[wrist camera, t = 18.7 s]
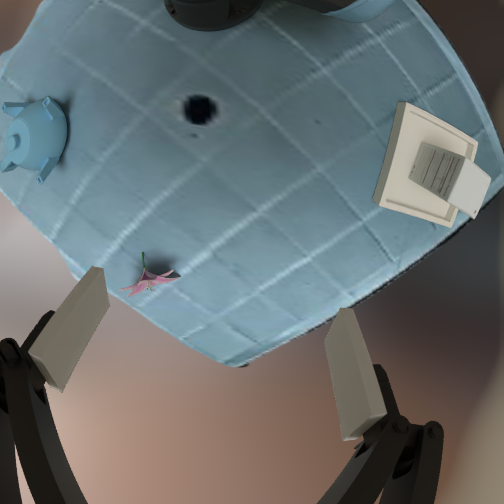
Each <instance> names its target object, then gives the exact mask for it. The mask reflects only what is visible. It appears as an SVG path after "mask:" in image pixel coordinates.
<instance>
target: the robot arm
mask: <svg viewBox="0 0 504 504" xmlns="http://www.w3.org/2000/svg"><path fill="white" fill-rule="evenodd" d="M283 1H286V2H290V3H293V4H297V5H300V6H303V7H306V8H310V9H313V10H315V11H316V12H318V13H319V14H322V15H327V16H332V17H335V18H338V19H341V20H343V21H346V22H349V23H364V22H368V21H370V20H372V19H374V18H376V17H378V16H379V15H380V14H382V13H383V12H384V11H385V10H387V9H388V8H389V7H390V6H391V5H392V4H393V3H394V2H395V0H283ZM164 3H165V6H166V9H167V11H168V13H169V14H170V15H171V16H172V17H173V18H174V19H175V20H176V21H177V22H178V23H180V24H181V25H183V26H185V27H187V28H190V29H193V30H198V31H219V30H224V29H228V28H231V27H234V26H236V25H238V24H240V23H242V22H244V21H245V20H247V19H248V18H250V17H251V16H252V15H253V14H254V13H255V12H256V11H257V9H258V8H259V6H260V5H261V3H262V0H164ZM109 307H110V304H109V299H108V293H107V288H106V282H105V276H104V270H103V268H99V267H94V266H92V267H91V268H90V269H89V270H88V272H87V273H86V274H85V275H84V276H83V278H82V279H81V280H80V281H79V283H78V284H77V285H76V286H75V287H74V289H73V290H72V291H71V292H70V294H69V295H68V296H67V298H66V299H65V300H64V302H63V303H62V304H61V306H60V307H59V308H58V309H57V311H56V312H55V311H52V310H50V311H49V312H47V313H46V314H45V315H43V316H42V318H41V319H40V320H39V322H38V324H37V325H36V326H35V327H34V330H32V332H31V333H30V334H29V336H28V337H27V339H26V340H25V341H24V343H23V345H22V346H21V347H19V346H18V344H17V342H16V341H15V340H14V339H12V338H5V339H3V340H1V342H0V504H22V499H21V494H20V489H19V483H18V476H17V468H16V458H15V445H16V449H17V453H18V456H19V460H20V463H21V466H22V469H23V472H24V475H25V478H26V481H27V484H28V486H29V489H30V492H31V494H32V497H33V499H34V501H35V504H88V503H87V501H86V499H85V497H84V496H83V493H82V492H81V490H80V487H79V485H78V483H77V481H76V479H75V477H74V475H73V473H72V470H71V468H70V465H69V463H68V461H67V458H66V455H65V453H64V450H63V447H62V445H61V442H60V439H59V436H58V433H57V430H56V427H55V424H54V420H53V417H52V413H51V410H50V406H49V402H48V398H47V394H46V389H45V387H44V384H45V382H46V381H47V383H48V384H49V386H50V387H51V388H53V389H55V390H57V391H59V392H61V393H62V392H63V390H64V388H65V386H66V384H67V382H68V380H69V378H70V376H71V374H72V372H73V370H74V368H75V366H76V364H77V362H78V361H79V359H80V357H81V355H82V353H83V351H84V350H85V347H86V346H87V344H88V342H89V341H90V339H91V337H92V335H93V334H94V332H95V330H96V328H97V327H98V325H99V323H100V321H101V320H102V318H103V316H104V315H105V313H106V311H107V310H108V308H109ZM324 344H325V349H326V353H327V358H328V363H329V367H330V373H331V378H332V383H333V388H334V393H335V399H336V404H337V410H338V416H339V422H340V428H341V434H342V440H343V441H344V440H354V439H358V438H359V437H360V436H361V435H363V438H364V440H363V441H362V442H360V443H359V444H358V445H357V446H356V447H355V448H354V449H357V448H358V449H357V450H356V452H355V453H354V455H353V456H352V458H351V459H350V461H349V462H348V464H347V465H346V466H345V468H344V469H343V471H342V472H341V473H340V475H339V476H338V478H337V479H336V480H335V482H334V483H333V484H332V486H331V487H330V488H329V490H328V491H327V492H326V493H325V495H324V496H323V497H322V498H321V499H320V500H319V502H318V503H317V504H374V502H375V501H376V499H377V498H378V496H379V494H380V493H381V491H382V489H383V487H384V489H383V492H382V496H381V499H380V502H379V504H434V500H435V496H436V491H437V486H438V479H439V473H440V467H441V459H442V450H443V439H444V431H443V428H442V426H441V425H440V424H439V423H438V422H436V421H430V422H428V423H426V424H425V425H424V426H422V425H416V424H411V423H410V422H409V421H408V419H407V418H405V417H404V416H401V415H400V413H399V410H398V407H397V404H396V401H395V398H394V395H393V391H392V389H391V385H390V383H389V379H388V377H387V374H386V372H385V370H384V369H383V368H382V366H381V365H380V364H374V365H373V364H372V362H371V359H370V356H369V353H368V350H367V348H366V344H365V341H364V339H363V336H362V333H361V330H360V327H359V325H358V322H357V320H356V317H355V314H354V311H353V309H349V308H340V309H339V312H338V314H337V316H336V318H335V320H334V322H333V324H332V326H331V328H330V330H329V333H328V334H327V336H326V338H325V340H324ZM14 441H15V442H14Z"/></svg>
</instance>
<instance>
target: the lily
mask: <svg viewBox="0 0 504 504" xmlns="http://www.w3.org/2000/svg"><path fill="white" fill-rule="evenodd" d="M142 260H143V268H144V271H143V274H142V276H141V277H140V279H139V280H138V281H137V282H136V283H135V284H134V285H132V286H130V287H127V288H123V289H120V290H118V291H123V290H129V289H132V288H133V289H132V291H131V292H130V294H129V295H128V296H132V295H135V294H138V293H140V292H142V291H143V290H144V289H146V287H150V290H152V289H153V288H151V287H152V286H155V285H157V284H162V283H168V282H170V281H173V280H176V279H178V278H180V277H177V278H164V276H167V275H169V274H170V273H172V272H173V271H174V270H171V271H169V272H167V273H165V274H162V275H155V274H152V273H150V272H148V271H146V269H145V265H144V253H143V252H142ZM160 276H162V277H160ZM147 290H148V288H147ZM128 296H126V297H128Z"/></svg>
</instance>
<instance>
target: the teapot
mask: <svg viewBox="0 0 504 504" xmlns="http://www.w3.org/2000/svg"><path fill="white" fill-rule="evenodd" d="M1 109H2V111H3V112H4V113H7V114H9V115H11V116H13V117H15V119H14V120H13V121H12V123H11V124H10V126H9V128H8V131H7V134H6V151H7V155H6V156H5V158H4V159H3V160H2V161H1V163H0V170H1V172H2V173H3V172H7V171H12V170H14V169H15V168H16V167H18V166H20V167H22V168H25V169H28V170H40V172H39V174H38V176H37V178H36V179H37V181H38V183H39V185H41V184H42V183H43V182H44V181H45V179H46V178H47V176H48V175H49V173H50V172H51V171H52V169H53V168H54V166H55V165H56V164H57V162H58V161H59V160H60V159H59V157H60V155H61V154H62V151H63V149H64V146H65V143H66V138H67V122H66V118H65V115H64V113H63V111H62V109H61V107H60V106H59V105H58V104H57V103H56V102H55V101H54V100H53V99H51V98H50V97H49V96H48V97H47V98H46V99H43V100H39V101H36V102H34V103H32V104H31V103H11V102H4V103H3V104H2V106H1Z"/></svg>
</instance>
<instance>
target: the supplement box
mask: <svg viewBox="0 0 504 504" xmlns="http://www.w3.org/2000/svg"><path fill="white" fill-rule="evenodd" d="M408 178H409V179H410V180H412V181H413V182H415V183H417V184H418V185H420V186H422V187H424V188H425V189H427V190H428V191H430V192H432V193H433V194H435V195H436V196H438V197H439V198H441V199H443V200H444V201H446V202H447V203H449V204H451V205H452V206H454V207H456V208H457V209H459V210H461V211H462V212H464V213H466V214H467V215H469V216H470V217H472V218H473V219H475V217H476V215H477V213H478V211H479V209H480V207H481V204H482V202H483V199H484V197H485V195H486V192H487V189H488V187H489V184H490V181H491V177H490V176H489V175H488V174H486V173H485V172H484V171H483V170H482V169H481V168H479V167H478V166H477V165H476V164H474V163H473V162H472V161H471V160H469V159H468V158H467V157H465V156H462V155H459V154H457V153H454V152H451V151H448V150H446V149H443V148H440V147H437V146H433V145H430V144H427V143H424V142H422V143H421V145H420V148H419V151H418V153H417V156H416V159H415V161H414V164H413V166H412V169H411V172H410V174H409V177H408Z"/></svg>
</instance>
